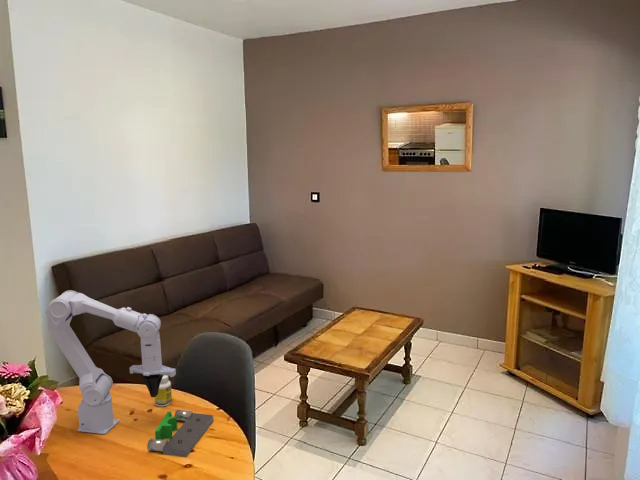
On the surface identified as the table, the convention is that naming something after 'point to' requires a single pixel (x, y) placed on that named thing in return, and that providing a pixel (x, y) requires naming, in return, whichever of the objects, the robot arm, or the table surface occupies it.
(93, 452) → the table surface
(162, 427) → the green notched block
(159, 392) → the supplement bottle
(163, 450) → the fixed leaf
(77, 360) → the robot arm
